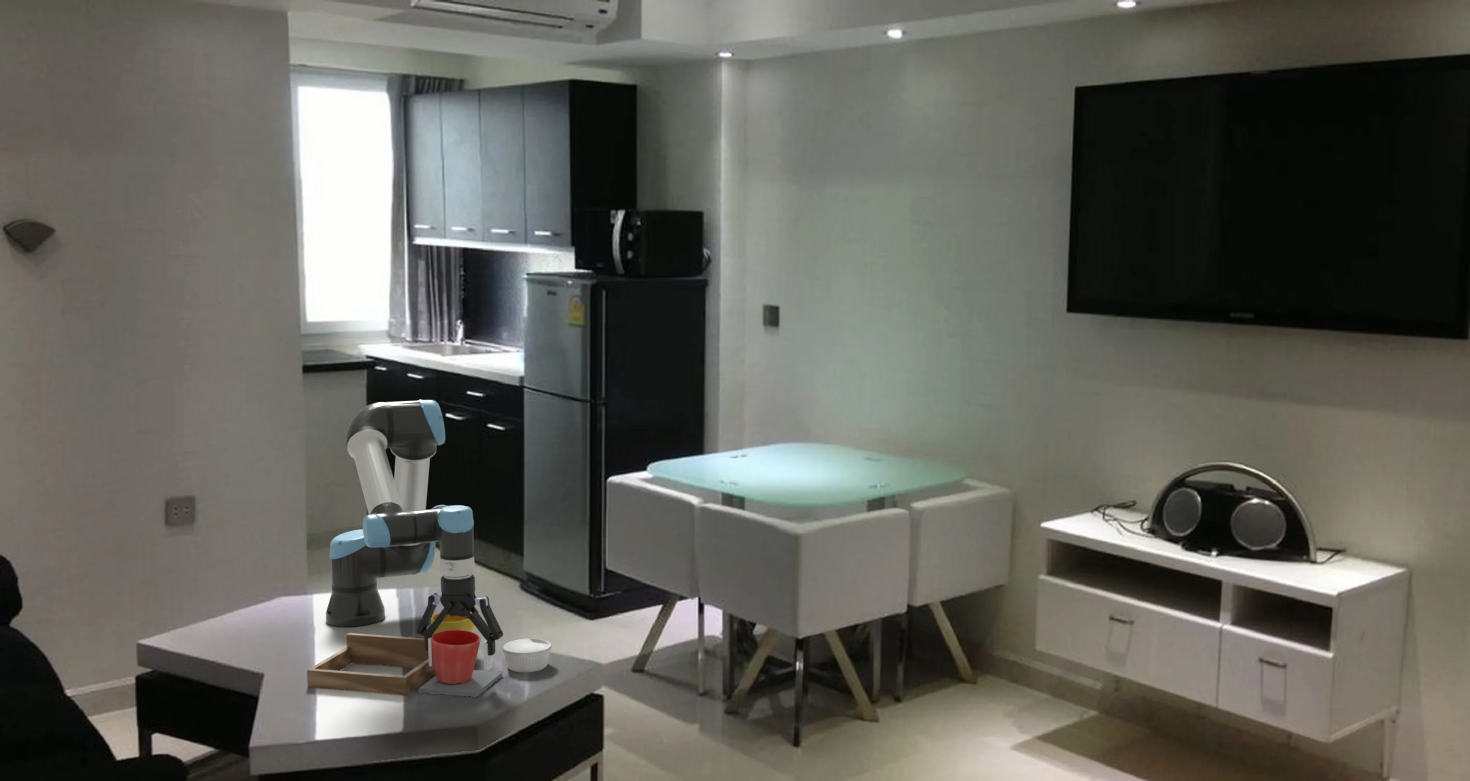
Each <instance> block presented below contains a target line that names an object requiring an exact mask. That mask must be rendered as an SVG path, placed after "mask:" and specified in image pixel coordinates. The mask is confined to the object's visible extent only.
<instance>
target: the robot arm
mask: <svg viewBox="0 0 1470 781" xmlns="http://www.w3.org/2000/svg"><path fill="white" fill-rule="evenodd" d="M441 410H442V409H441V407H440V405H439V403H438V402H437V401H436V400H435V399H419V400H405V401H404V400H401V401H385V402H384V401H380V402H379V401H378V402H374V403H370V404H368V405H366V406H365V407H363V408H361V409H360V410H359V411H358V412H357V413H356V414H354V417H353V418H352V419H351V420H350V422H349V424H348V427H347V430H346V434H345V446H346V449H347V450H346V451H347V453H348V454H349V456H350V457H351V458H352V459H354V464H355V468H356V470H357V471H356V472H357V475H358V478H359V483H360V486H361V489H362V490H361V491H362V493H363V496H364V497H363V498H364V500H365V505H366V509H367V512H368V514H367V515H366V516H364V518H363V520H362V529H355V530H351V531H347V532H342V533H341V534H338V535H336V536H335V537H333V539H332V540H331V541H330V545H329V547H330V548H329V559H330V578H331V584H330V585H331V594H330V598H329V600H328V604H327V608H326V612H325V621H326V623H327V624H328V625H330V626H334V627H346V628H347V627H359V626H360V627H361V626H367V625H370V624H375V623H378V622H380V621H382V620H383V619H385V617H386V611H385V610H386V609H385V605H384V603H383V601H382V598H381V595H380V592H379V590H378V579H383V578H391V577H401V576H408V575H409V576H412V575H413V576H414V575H415V576H416V575H417V574H422V573H427V572H428V571H430V570H431V568H432V566H433V564H434V561H435V556H436V542H437V543H438V542H439V554H440V555H439V558H440V560H439V563H440V567H439V568H440V575H441V577H440V592H441V595H438V593H436V592H435V593H432V594H430V595H429V596H428V598H427V606H426V608H425V611H424V613H423V615H422V618H421V620H420V622H419V624H418V627H417V629H416V631H415V632H416V635H418V636H419V635H421V636H423V638H425V650H426V651H429V666H434V659H433V651H432V644H431V637H432V636H433V635H434V632H435V631H436V629H437V628H438V627H439V626H440V624H441V623H442V622H443V621H444V619H445V618H446V617H447V616H448V615H451V616H460V617H464V616H466V617H467V618H468V619H469V620H471V621H472V623H473V624H474V627H475V628H476V629H477V631H478V632H479V633H480V634H481V635H482V637H483V639H485V641H484V642H483V644H482V645H483V671H490V669H492V668H493V656H494V655H495V653H496V641H499V639H501V638H502V637H503V636H504V632H503V630H502V628H501V626H500V624H499V622H498V620H497V618H496V615H495V613H494V612H493V610H492V607H491V605H490V599H489V596H483V597H477V596H476V576H475V574H474V573H475V572H476V570H475V566H476V565H475V544H474V543H475V542H474V541H475V540H474V524H475V520H474V517H473V516H474V514H473V510H472V508H471V507H470V506H465V505H459V504H458V505H457V504H455V505H445V504H439V505H435V506H433V507H432V508H431V509H426V508H427V497H428V485H429V472H430V459H431V458H432V457H434V456H435V454H436V453H437V448H438V447H437V446H441V445H443V444H445V442H446V430H445V422H444V418H443V413H442V411H441ZM387 449H390V451H391V453H392V454H393V455H394V456H395V461H394V462H395V463H394V476H393V471H392V468H391V464H390V462H389V458H388V455H387V454H388V453H387V451H386V450H387ZM438 604H441V605H442V607H443V609H441V611H440V612H439V613H440V614H439V616H438V617H437V618H436V619H435V621H434V622H433V623H432V624H431V617H432V616H433V615H434V613H435V611H436V608H437V606H438ZM476 605H477V607H478V608H480V612H481V614H482V615H480V614H479V611H478V610H477V608H476V607H475V606H476ZM471 612H472V613H471ZM482 616H483V618H482ZM429 624H430V625H429Z"/></svg>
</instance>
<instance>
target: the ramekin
mask: <svg viewBox="0 0 1470 781" xmlns="http://www.w3.org/2000/svg"><path fill="white" fill-rule="evenodd" d="M551 650H552V643H551V642H550V641H548V640H545V639H541V638H535V637H534V638H528V637H527V638H519V639H515V640H511V641H508V642H506V643H505V644H504V645H503V646H502V651H503V653H504V658H505V661H506V662H505V663H506V666H507V668H508V669H509V670H510V671H513V672H515V673H535V672H540V671H541V670H544V669H545V668H547V666H548V664H549V660H550V655H551Z"/></svg>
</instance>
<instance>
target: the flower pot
mask: <svg viewBox="0 0 1470 781" xmlns="http://www.w3.org/2000/svg"><path fill="white" fill-rule="evenodd" d="M481 640H482V638H481V636H480V635H479V634H477V633H476V632H473V631H472V632H470V631H465V630H446V631H441V632H438V633H435V634H432V637H431V644H432V651H433V659H434V665H435V671H436V674H435V676H436V677H437V679H438V680H439V681H440V682H443V683H448V684H458V683H465V682H467V681H469V680H470V679H471V677H472V673H473V670H475V669H474V668H475V666H476V665H475V664H476V660H477V657H478V652H479V648H480V643H481Z"/></svg>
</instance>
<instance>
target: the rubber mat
mask: <svg viewBox="0 0 1470 781" xmlns="http://www.w3.org/2000/svg"><path fill="white" fill-rule="evenodd" d="M499 678H500V679H502V678H503V672H502V671H490V670H488V671H484V670H475V669H473V673H472V677H471V679H470V680H469V681H467V682H465V683H458V684H448V683H443V682H440V681H439V680H438V679H437V677H436V675H434V676H433V677H431V678H430V679H429V680H427V681H426V682H424V683H423V684H422V685H420V686H419V687H417V691H418V692H419V694H427V693H434V694H433V695H440V694H446V695H445V696H452V695H457V696H456V697H464V696H471V697H470V698H476V697H477V696H478V695H479V694H480V695H481V693H482V692H483V693H484V692H485V691H487V690H488V689H489V688H491V686H492V684H493V683H494V682H495V681H496V682H497V681H499V680H500V679H499ZM498 679H499V680H498ZM496 682H495V683H496ZM495 683H494V684H495ZM494 684H493V685H494ZM490 685H491V686H490ZM488 687H489V688H488ZM487 688H488V689H487ZM418 692H417V693H418ZM420 692H421V693H420ZM483 693H482V694H483ZM458 695H460V696H458ZM480 695H479V696H480ZM479 696H478V697H479ZM478 697H477V698H478Z"/></svg>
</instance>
